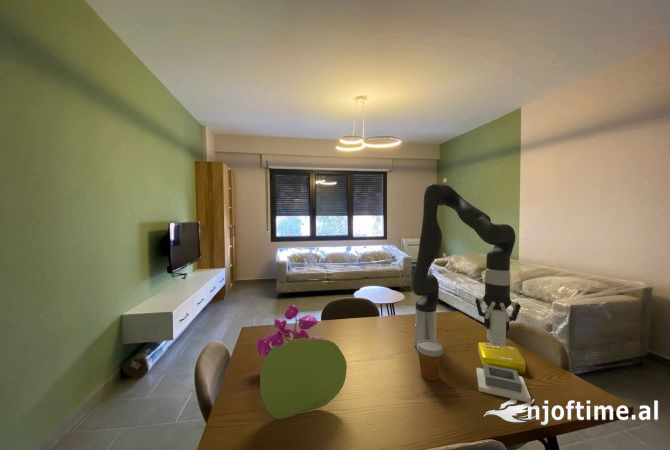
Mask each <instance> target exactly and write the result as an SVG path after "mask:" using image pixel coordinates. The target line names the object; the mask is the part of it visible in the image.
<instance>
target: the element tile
mask: <svg viewBox="0 0 670 450" xmlns="http://www.w3.org/2000/svg"><path fill="white" fill-rule="evenodd" d="M477 348H478V349H477V351H478V356H479V358H480V362H481V365H482V366H484V364H486V365H491V366H496V367H501V368H506V369H511V370H517V373H518V374H526V361H525V359H524V358H523V356H522V354H521V352H520V350H519V349H518V348H517V347H516V346H511V345H506V346H505V347H502V346H493V345H492V344H491V343H490V342H483V341H482V342H481V341H479V342H478V345H477Z"/></svg>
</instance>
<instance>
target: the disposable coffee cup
mask: <svg viewBox="0 0 670 450" xmlns="http://www.w3.org/2000/svg"><path fill="white" fill-rule="evenodd" d="M416 349H417V352H418V360H419V361H418V362H419V369H420V376H421V377H422V378H423V379H424V380H426V381H437V380H438V379H439V377H440V370H441V369H440V368H441V362H442V356H443V353H444V348H443V345H442V344H441V343H439V342H438V341H436V342H435V341H432V340H421V341H419V342H418V345H417V346H416Z"/></svg>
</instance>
